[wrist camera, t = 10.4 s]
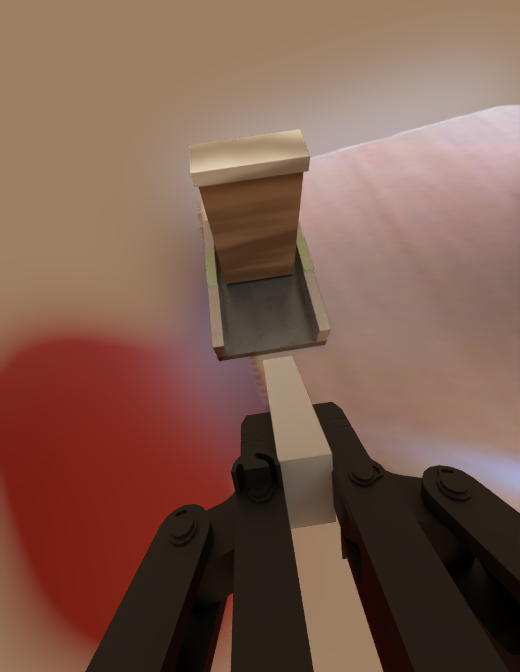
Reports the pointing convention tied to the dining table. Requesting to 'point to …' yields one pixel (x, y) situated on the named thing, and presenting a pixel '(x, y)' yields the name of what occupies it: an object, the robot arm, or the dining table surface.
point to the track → (264, 307)
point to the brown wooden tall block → (252, 201)
